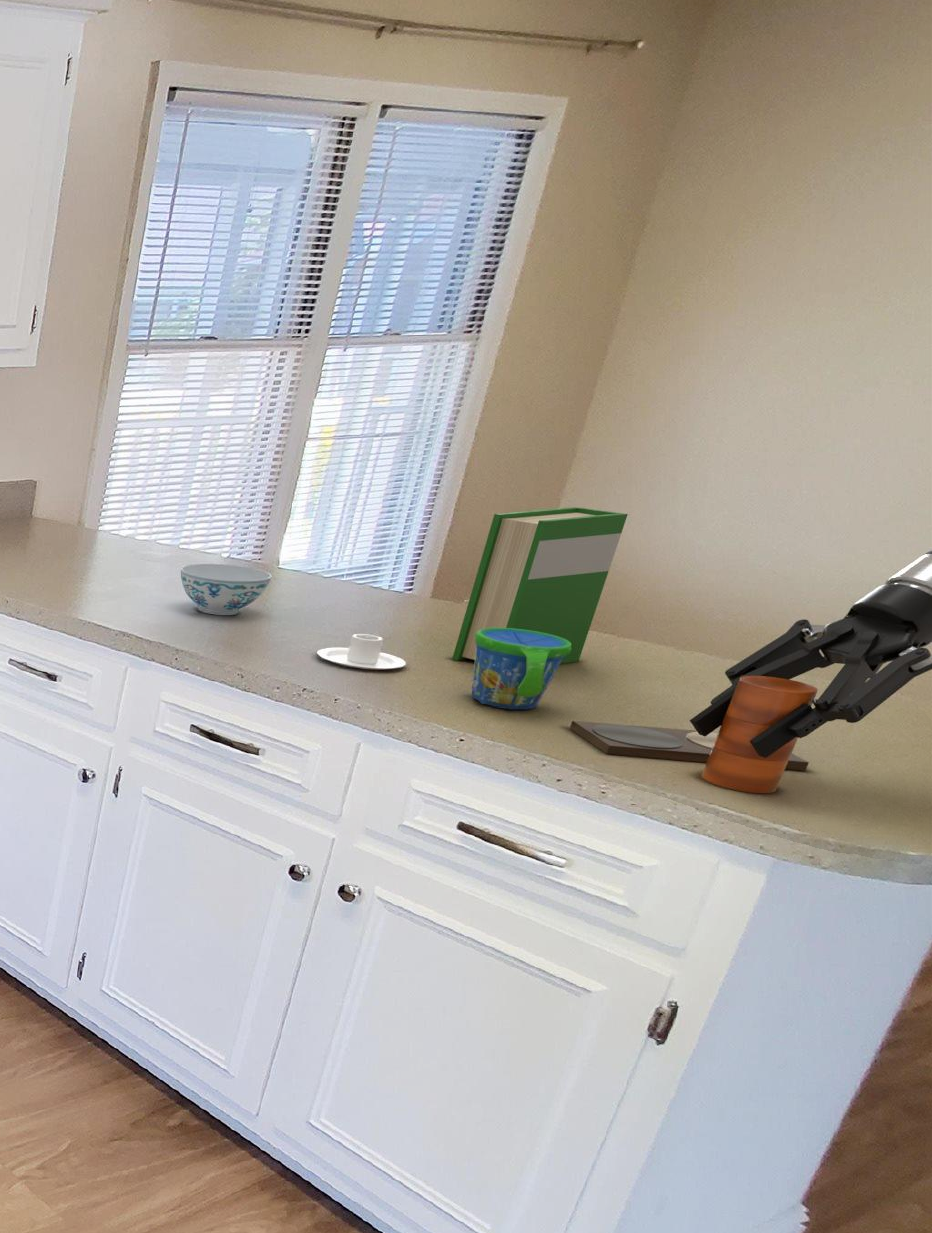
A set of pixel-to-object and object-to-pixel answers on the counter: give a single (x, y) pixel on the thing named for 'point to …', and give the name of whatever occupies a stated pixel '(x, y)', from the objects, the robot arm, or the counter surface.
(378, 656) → the candle holder
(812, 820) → the counter surface
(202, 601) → the chinaware
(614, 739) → the board
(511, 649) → the snack cup
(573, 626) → the hardback book
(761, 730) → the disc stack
